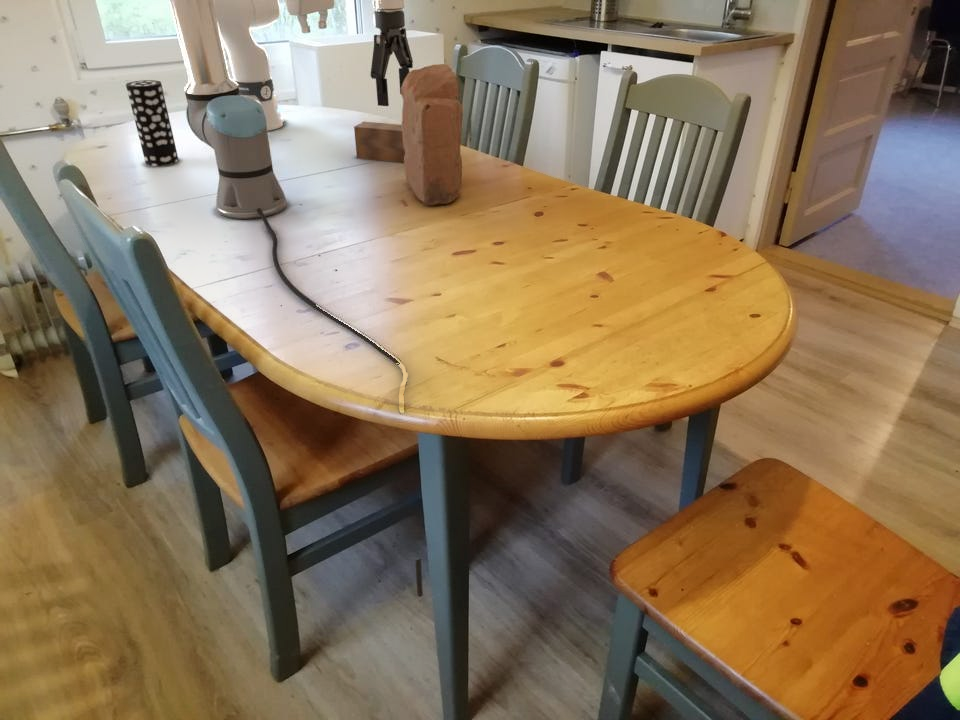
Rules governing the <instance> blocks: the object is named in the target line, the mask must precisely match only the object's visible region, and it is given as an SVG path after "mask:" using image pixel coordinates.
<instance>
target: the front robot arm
mask: <svg viewBox="0 0 960 720" xmlns="http://www.w3.org/2000/svg"><path fill="white" fill-rule="evenodd" d="M168 1H169V4H170V9H171V13H172V17H173V21H174V25H175V29H176V33H177V37H178V41H179V46H180V49H181V54H182V57H183V61H184V65H185V69H186V72H187V77H188V83H187V84H186V86H185V87H184V91H183V92H184V94H185V97H186V98H185V100H186V103H187V105H186V110H185V115H186V116H185V117H186V122H187V124H188V126H189V128H190V130H191V132H192V133H193V134H194V136H196V138H197V139H198V140H200V141H201V142H203V143H204V144H206V145H207V146H208V147H210V148H211V149H213V151H214V156H215V161H216V167H217V169H218V170H217V172H218V185H217V193H216V201H215V203H216V204H215V206H216V210H217V213H218V214H219V215H221V216H223V217H225V218H229V219H236V220H253V219H260V218H261V220H262V222H263V224H264V226H265V228H266V230H267V232H268V233H269V234H270V236H271V238H272V250H271V253H272V261H273V265H274V267H275V270H276V272H277V274H278V275H279V277H280V279H281V281H282V282H283V284H285V285H286V287H287V288H288V289H289V290H290V291H291V292H292V293H293V294H295V295H296V296H297V297H298V298H299V299H300V300H302V301H303V302H305V303H306V304H307V305H308V306H310V307H311V308H312V309H314V310H316V311H318V312H319V313H320V314H322V315H324V316H325V317H326V318H328V319H330V320H331V321H333V322H335V323H336V324H338V325H340V326H341V327H343V328H345V329H346V330H348V331H349V332H351V333H352V334H354V335H356V336H357V337H358V338H360V339H362V340H363V341H364V342H366V343H368V345H370V346H371V347H373V348H374V349H375V350H376V351H378V352H379V353H380V354H382V355H383V356H385V357H386V358H388V359H389V360H390V361H392V362H393V363H394V364H395V365H396V363H399V362H398V361H397V360H396V359H395V358H393V357H392V356H391V355H389V354H388V353H387V352H385V351H384V350H382V349H381V348H380V347H378V346H377V345H376V344H375V343H373V342H372V341H370V340H369V339H368V338H366V337H365V336H363V335H362V334H360V333H358V332H357V331H355V330H354V329H352V328H351V327H349V326H348V325H346V324H344V323H343V322H341V321H339V320H338V319H336V318H334V317H333V316H331V315H330V314H328V313H327V312H325V311H323V310H322V309H320V308H319V307H317V306H316V304H317V305H319V304H318V303H316V302H314V301H313V300H312V299H310V298H309V297H308V296H306V295H305V294H304V293H302V291H300V290H299V289H298V288H297V287H295V286H294V285H293V283H292V282H291V281H290V280H289V279H288V277H287V276H286V275H285V272H284V271H283V270H282V268H281V265H280V261H279V257H278V238H277V235H276V233H275V231H274V230H273V228H272V227H271V224H270V222H269V221H268V219H267V217H270V216H274V215H276V214H278V213H280V212H282V211H283V210H285V209H286V207H287V199H286V194H285V193H284V191H283V189H282V187H281V184H280V182H279V180H278V179H277V177H276V175H275V172H274V167H273V160H272V154H271V147H270V140H269V133H268V131H267V126H266V124H267V123H266V122H267V121H266V116H265V114H264V110H263V107H262V105H261V104H260V103H259V102H258V101H256V100H255V99H252V98H249V97H243V96H240V91H239V87H238V84H237V83H236V82H235V81H233V78H231V77H230V74H229V69H228V65H227V60H226V55H225V51H224V44H223V42H222V40H221V36H220V31H219V27H218V22H217V17H216V13H215V8H214V4H213V0H168ZM372 7H373V9H374V12H373V24H374V27H375V28H376V29H379V34H374V35H373V51H372V59H371V66H370V78H371V79H373V80H375V86H376V98H377V99H376V100H377V106H381V107H389V105H390V103H389V90H388V79H387V78H386V75H387V70H388V66H389V62H390V58H391V56H392V55H393V54H394V56H395V58H396V61H397V63H398V64H399V68H398V79H399V80H398V81H399V95H402V94H401V87H402V84H403V82H404V80H405V78H406V76H407V75H408V73H409V72H410V69H413V67H414V66H413V65H414V64H413V63H414V61H413V56H412V52H411V49H410V45H409V41H408V37H407V29H406V27H405V25H406V21H405V12H404V10H403V9H404V8H405V1H404V0H372ZM319 306H320V305H319ZM320 307H322V306H320ZM327 311H328V312H330V311H329V310H327ZM330 313H331V312H330ZM331 314H333V313H331ZM348 324H349V323H348ZM349 325H351V324H349ZM356 329H357V328H356ZM357 330H359V329H357ZM359 331H360V332H362V331H361V330H359ZM362 333H363V334H365V333H364V332H362ZM365 335H366V336H368V335H367V334H365ZM368 337H369V338H371V337H370V336H368ZM371 339H372V340H374V339H373V338H371ZM374 341H375V342H377V341H376V340H374ZM378 344H379V343H378ZM379 345H380V346H382V345H381V344H379ZM383 348H384V349H386V348H385V347H383ZM386 350H387V351H389V350H388V349H386ZM393 355H394V356H396V355H395V354H393ZM398 359H399V360H400V361H402V360H401V359H400V358H398ZM399 364H400V363H399ZM399 364H397V365H399ZM397 365H396V366H397ZM399 414H401V413H399ZM401 415H402V414H401ZM415 580H416V594H417V597H419V598H421V597H422V596H424V595H423V594H424V593H423V591H424V589H423V574H422V558H419V559H416V560H415Z"/></svg>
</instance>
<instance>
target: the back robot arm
mask: <svg viewBox="0 0 960 720" xmlns="http://www.w3.org/2000/svg"><path fill="white" fill-rule="evenodd" d="M213 4H214V8H215V13H216V17H217V22H218V27H219V31H220V36H221V41H222V45H223V46H224V48H225V50H226V52H227V55H228V59H229V64H230V68H231V69H230V70H231V74H232V80H233V81H235V82H236V83H237V84H238V87H239V91H240V96H243V97H249V98H252V99H255V100H256V101H258V102H259V103H260V104H261V105H262V107H263V110H264V114H265V116H266V121H267V122H266V123H267V124H266V126H267V132H268V131H269V132H270V131H272V130H277V129H280V128H282V127H283V125H284V122H285V118H284V117H282V113H281V108H282V107H281V105H279V100H278V97H277V95H276V94H275V93H274V90H275V88H274V86H275V85H274V82H273V78H272V77H271V70H270V64H269V56H268V53H267V50H265V48H264V47H263V46H261V45H260V44H258V43H256V42H255V40H254V38H253V36H252V33H251V30H254V29H261V28H265V27H268V26H270V25H271V24H274V23H276V22H277V21H278V19H279V18H280V15H281V14H280V13H281V5H280V2H279V0H213ZM285 6H286V10H287V12H288V14H289V16H295V17H297V20H298V22H299V25H300V28H301V33H302V34H310V33H311V25H309V24H308V23H309V22H308V15H311V14H314V13H318V15H319V18H318V22H317V24H318V29H319V30H324V29H327V27H328V26H327V21H328V16H329V15H328V12H329V10H331V9H332V10H333V9H334V8H335V0H285Z"/></svg>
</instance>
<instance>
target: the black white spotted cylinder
mask: <svg viewBox="0 0 960 720" xmlns="http://www.w3.org/2000/svg"><path fill="white" fill-rule="evenodd" d="M125 87H126V91H127V95H128V99H129V103H130V107H131V110H132V115H133V118H134V122H135V123H134V124H135V127H136V130H137V134H138V139H139V143H140V146H141V150H142V155H143V158H144V163H145V164H146V165H147V166H151V167H164V166H170V165H174V164H176V163H178V162H179V155H178V150H177V146H176V142H175V137H174V133H173V128H172V125H171V121H170V116H169V111H168V107H167V103H166V98H165V93H164V89H163V84H162V81H161V80H155V79H154V80H153V79H151V80H150V79H145V80H144V79H141V80H134V81H130V82H129V81H128V82H127V83H126V84H125Z"/></svg>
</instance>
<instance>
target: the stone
mask: <svg viewBox="0 0 960 720" xmlns="http://www.w3.org/2000/svg"><path fill="white" fill-rule="evenodd" d="M400 95H401V97H402V109H401V125H402V134H403V145H404V150H405V156H404V163H403V164H404V165H403V166H404V175H405V177H406V181H407V183H408V184H409V187H410V189H412V191H413V193H414V195H415V196H416V197H417V198H418V200H419V201H422V203H423V205H425V206H436V205H447V204H449V203H452V202H454V200H455V199H457V198H459V197H460V192H461V189H462V185H463V178H462V177H463V159H462V154H461V152H462V151H461V144H462V129H463V119H464V118H463V117H464V108H463V104H461V103H460V100H459V84H458V81H457V76H456V73H455V72H453V70H452V68H451V67H450V65H448V64H446V63H440V64H432V65H428V66H424V67H422V68H418V69H413V70H409V73H408V75H407V76H406V78H405V80H404V82H403V84H402V87H401V94H400Z"/></svg>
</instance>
